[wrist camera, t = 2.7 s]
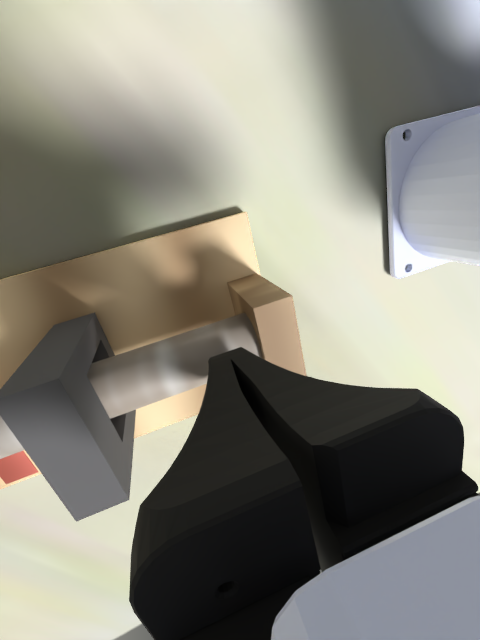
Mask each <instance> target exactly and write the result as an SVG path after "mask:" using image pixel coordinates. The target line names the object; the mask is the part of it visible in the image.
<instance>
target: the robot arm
mask: <svg viewBox="0 0 480 640" xmlns="http://www.w3.org/2000/svg"><path fill="white" fill-rule="evenodd" d="M403 132H405V134H406V137H405V140H404V139H403ZM385 148H386V176H387V203H388V231H389V258H390V274H391V276H392V277H394V278H398V279H400V278H403V277H406V276H409V275H412V274H415V273H418V272H421V271H424V270H427V269H430V268H432V267H435V266H438V265H441V264H444V263H447V262H450V261H454V262H459V263H465V264H471V265H476V266H480V105H479V106H475V107H471V108H467V109H463V110H459V111H455V112H451V113H447V114H443V115H439V116H435V117H431V118H427V119H423V120H419V121H415V122H411V123H407V124H403V125H399V126H396V127H393V128H391V129H390V130H389V131H388V132H387V134H386V138H385ZM406 265H407V268H406V270H405V267H406ZM208 365H209V370H208V379H207V385H206V390H205V394H204V398H203V401H202V405H201V408H200V411H199V414H198V416H197V419H196V421H195V424H194V426H193V428H192V430H191V432H190V434H189V437H188V439H187V441H186V442H185V444H184V446H183V448H182V450H181V451H180V453H179V455H178V456H177V458H176V459H175V461H174V462H173V464H172V466H171V467H170V469H169V470H168V471H167V473H166V474H165V475H164V477H163V478H162V479H161V480H160V482H159V483H158V484H157V485H156V487H155V488H154V489H153V490H152V492H151V493H150V494H149V495H148V497H147V498H146V499H145V500H144V501H143V503H142V504H141V505H140V508H139V513H138V517H137V522H136V527H135V533H134V539H133V544H132V552H131V572H130V596H129V601H130V603H131V606H132V608H133V610H134V613H135V614H136V615H137V617H138V618H139V619H140V621H141V622H142V624H143V625H144V626H145V628H146V629H147V630H148V632H149V633H150V634H151V636H152V637H153V638H154V640H480V495H478V494H477V493H476V492H477V491H478V486H477V484H476V482H475V481H473V480H472V479H471V478H470V477H469V476H467V475H466V474H465V473H464V472H463V471H462V461H463V449H464V432H463V426H462V424H461V422H460V420H459V418H458V417H457V416H456V415H455V414H454V413H452V412H451V411H450V410H448V409H447V408H445V407H444V406H443V405H441V404H440V403H438V402H437V401H435V400H434V399H432V398H431V397H429V396H428V395H426V394H425V393H423V392H421V391H420V390H418V389H402V388H373V387H362V386H353V385H345V384H339V383H334V382H328V381H323V380H319V379H315V378H311V377H308V376H304V375H301V374H298V373H295V372H292V371H289V370H287V369H284V368H282V367H279V366H277V365H275V364H272V363H270V362H268V361H266V360H264V359H262V358H260V357H259V356H257V355H255V354H253V353H251V352H250V351H248V350H246V349H244V348H242V347H239V348H236V349H233V350H230V351H228V352H225V353H222V354H219V355H216V356H213V357H210V359H209V360H208ZM320 569H321V570H322V573H320V571H319V570H320Z"/></svg>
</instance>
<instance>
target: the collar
mask: <svg viewBox="0 0 480 640" xmlns="http://www.w3.org/2000/svg"><path fill="white" fill-rule="evenodd" d="M112 356H115V354H114V352H113V350H112V348H111V346H110V344H109V342H108V339H107V337H106V335H105V333H104V331H103V329H102V327H101V325H100V322H99V320H98V318H97V316H96V314H95V312H94V313H91V314H88V315H85V316H81V317H78V318H75V319H72V320H68V321H65V322H62V323H58V324H55V325H53V327H52V328H51V329H50V330H49V331H48V333H47V334H46V335H45V336H44V337H43V339H42V340H41V341H40V342H39V343H38V345H37V346H36V347H35V348H34V349H33V351H32V352H31V353H30V354H29V355H28V357H27V358H26V359H25V360H24V361H23V363H22V364H21V365H20V366H19V367H18V369H17V370H16V371H15V372H14V373H13V375H12V376H11V377H10V378H9V379H8V381H7V382H6V383H5V384H4V385H3V387H2V388H1V389H0V416H1V417H2V419H3V420H4V422H5V423H6V424H7V426H8V427H9V429H10V430H11V431H12V433H13V434H14V436H15V437H16V438H17V440H18V441H19V443H20V444H21V445H22V447H23V448H24V449H25V451H26V452H27V454H28V455H29V456H30V458H31V459H32V461H33V462H34V463H35V465H36V466H37V468H38V469H39V470H40V472H41V473H42V474H43V476H44V477H45V479H46V480H47V481H48V483H49V484H50V486H51V487H52V488H53V490H54V491H55V493H56V494H57V495H58V497H59V498H60V500H61V501H62V502H63V504H64V505H65V506H66V508H67V509H68V511H69V512H70V513H71V515H72V516H73V518H74V519H75V520H76V521H79V520H81V519H84V518H86V517H88V516H91V515H93V514H96V513H98V512H101V511H103V510H105V509H108V508H110V507H113V506H115V505H118V504H120V503H122V502H125V501H127V500H129V495H130V482H131V469H132V456H133V443H134V430H135V417H136V410H133V411H130V412H128V413H125V414H122V415H119V416H117V417H114V418H111V419H110V418H109V416H108V414H107V412H106V410H105V409H104V407H103V405H102V403H101V401H100V399H99V397H98V395H97V394H96V392H95V390H94V388H93V386H92V384H91V382H90V380H89V379H88V377H87V373H88V371H89V368H90V366H91V363H94V362H97V361H100V360H103V359H106V358H109V357H112Z"/></svg>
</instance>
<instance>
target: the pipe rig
mask: <svg viewBox="0 0 480 640" xmlns="http://www.w3.org/2000/svg"><path fill="white" fill-rule="evenodd" d="M94 312H95V314H96V316H97V318H98V320H99V322H100V325H101V327H102V329H103V331H104V333H105V335H106V337H107V339H108V342H109V344H110V346H111V348H112V350H113V352H114V354H115V356H112V357H109V358H106V359H103V360H100V361H97V362H94V363H91V366H90V368H89V371H88V373H87V377H88V379H89V380H90V382H91V384H92V386H93V388H94V390H95V392H96V394H97V395H98V397H99V399H100V401H101V403H102V405H103V407H104V409H105V410H106V412H107V414H108V416H109V418H110V419H111V418H114V417H117V416H119V415H122V414H125V413H128V412H130V411H133V410H136V417H135V430H134V438H137V437H139V436H142V435H145V434H147V433H150V432H153V431H155V430H158V429H160V428H163V427H166V426H168V425H171V424H174V423H176V422H179V421H182V420H184V419H187V418H189V417H192V416H195V415H197V414H199V411H200V408H201V405H202V401H203V398H204V394H205V390H206V385H207V379H208V370H209V365H208V360H209V359H210V357H213V356H216V355H219V354H222V353H225V352H228V351H230V350H233V349H236V348H239V347H242V348H244V349H246V350H248V351H250V352H251V353H253V354H255V355H257V356H259V357H260V358H262V359H264V360H266V361H268V362H270V363H272V364H275V365H277V366H279V367H282V368H284V369H287V370H289V371H292V372H295V373H298V374H301V375H304V376H306V370H305V364H304V359H303V353H302V348H301V342H300V336H299V331H298V325H297V319H296V314H295V308H294V303H293V297H292V295H290V294H289V293H287V292H286V291H284V290H282V289H281V288H279V287H278V286H276V285H274V284H273V283H271V282H270V281H268V280H266V279H265V278H263V277H262V276H261V275H260V271H259V266H258V261H257V257H256V252H255V248H254V243H253V238H252V234H251V229H250V224H249V220H248V215H247V212H241V213H237V214H234V215H230V216H227V217H223V218H219V219H216V220H212V221H209V222H205V223H201V224H198V225H194V226H191V227H187V228H183V229H180V230H176V231H173V232H169V233H165V234H162V235H158V236H154V237H151V238H147V239H144V240H140V241H136V242H133V243H129V244H126V245H122V246H118V247H115V248H111V249H108V250H104V251H100V252H97V253H93V254H90V255H86V256H82V257H79V258H75V259H71V260H68V261H64V262H61V263H57V264H53V265H50V266H46V267H43V268H39V269H35V270H32V271H28V272H25V273H21V274H17V275H14V276H10V277H7V278H3V279H0V389H1V388H2V387H3V385H4V384H5V383H6V382H7V381H8V379H9V378H10V377H11V376H12V375H13V373H14V372H15V371H16V370H17V369H18V367H19V366H20V365H21V364H22V363H23V361H24V360H25V359H26V358H27V357H28V355H29V354H30V353H31V352H32V351H33V349H34V348H35V347H36V346H37V345H38V343H39V342H40V341H41V340H42V339H43V337H44V336H45V335H46V334H47V333H48V331H49V330H50V329H51V328H52V327H53V325H55V324H58V323H62V322H65V321H68V320H72V319H75V318H78V317H81V316H85V315H88V314H91V313H94ZM39 474H42V473H41V472H40V470H39V469H38V468H37V466H36V465H35V463H34V462H33V461H32V459H31V458H30V456H29V455H28V454H27V452H26V451H25V449H24V448H23V447H22V445H21V444H20V443H19V441H18V440H17V438H16V437H15V436H14V434H13V433H12V431H11V430H10V429H9V427H8V426H7V424H6V423H5V422H4V420H3V419H2V417H1V416H0V489H3V488H5V487H8V486H11V485H13V484H16V483H18V482H21V481H24V480H26V479H29V478H32V477H34V476H37V475H39Z"/></svg>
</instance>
